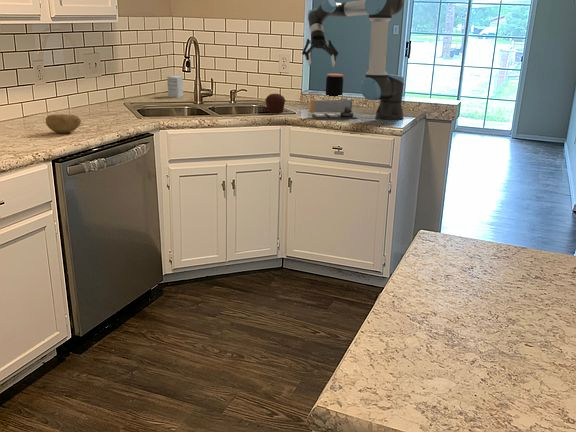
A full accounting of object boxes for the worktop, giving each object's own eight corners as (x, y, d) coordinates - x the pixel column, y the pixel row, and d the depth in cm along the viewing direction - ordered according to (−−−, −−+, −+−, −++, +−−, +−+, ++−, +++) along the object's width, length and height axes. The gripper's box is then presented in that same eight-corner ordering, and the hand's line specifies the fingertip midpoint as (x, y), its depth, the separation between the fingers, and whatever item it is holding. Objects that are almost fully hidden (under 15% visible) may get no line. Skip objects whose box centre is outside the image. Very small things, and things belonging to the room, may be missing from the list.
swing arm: (350, 111, 316) (351, 98, 314) (352, 113, 311) (353, 99, 309) (308, 111, 311) (309, 97, 309) (310, 112, 307) (311, 99, 304)
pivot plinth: (352, 116, 319) (352, 111, 318) (357, 118, 311) (357, 114, 310) (336, 116, 317) (336, 111, 317) (341, 118, 309) (341, 113, 308)
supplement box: (173, 95, 374) (172, 75, 370) (183, 96, 372) (182, 76, 368) (167, 96, 367) (166, 76, 363) (177, 97, 365) (177, 77, 361)
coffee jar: (341, 102, 370) (343, 74, 364) (341, 105, 360) (343, 75, 354) (325, 102, 371) (326, 73, 365) (324, 104, 361) (326, 74, 355)
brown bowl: (82, 134, 246) (81, 115, 244) (47, 135, 241) (45, 116, 238) (80, 130, 255) (79, 111, 252) (46, 131, 249) (44, 112, 247)
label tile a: (335, 115, 318) (335, 113, 317) (340, 119, 309) (340, 116, 308) (324, 115, 317) (324, 113, 316) (329, 118, 307) (329, 116, 307)
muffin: (289, 112, 324) (290, 94, 321) (275, 114, 316) (276, 95, 313) (274, 109, 331) (274, 92, 328) (260, 111, 324) (260, 93, 321)
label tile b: (323, 115, 316) (323, 113, 316) (327, 118, 307) (327, 116, 307) (312, 115, 315) (312, 113, 315) (316, 118, 306) (316, 116, 306)
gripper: (336, 39, 330) (341, 70, 322) (294, 37, 325) (298, 68, 317) (340, 30, 324) (345, 61, 316) (297, 27, 318) (301, 59, 310)
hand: (322, 65), depth 316 cm, fingers open, 13 cm apart
